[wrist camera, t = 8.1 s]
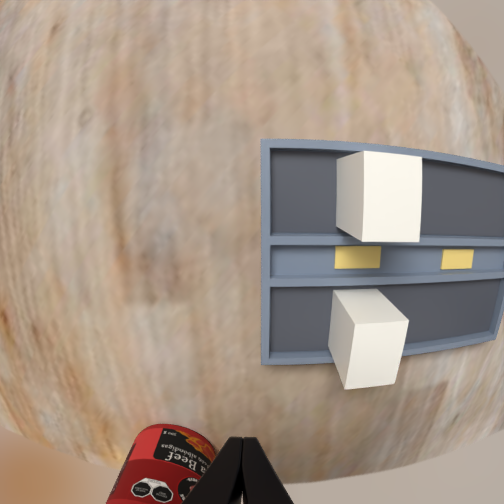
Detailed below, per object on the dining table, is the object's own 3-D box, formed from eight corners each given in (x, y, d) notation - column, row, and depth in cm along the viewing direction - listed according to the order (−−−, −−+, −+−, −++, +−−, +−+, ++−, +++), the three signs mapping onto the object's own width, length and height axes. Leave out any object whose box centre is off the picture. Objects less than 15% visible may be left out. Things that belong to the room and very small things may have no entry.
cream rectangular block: (382, 162, 17) (421, 156, 12) (381, 227, 18) (419, 242, 13) (336, 159, 17) (363, 150, 12) (335, 226, 18) (361, 241, 13)
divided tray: (504, 169, 17) (519, 169, 16) (483, 329, 20) (495, 339, 19) (260, 143, 18) (260, 138, 16) (261, 349, 21) (261, 364, 19)
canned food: (233, 458, 24) (222, 553, 13) (173, 475, 25) (151, 554, 14) (180, 410, 23) (145, 514, 12) (122, 432, 24) (81, 514, 13)
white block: (376, 288, 19) (409, 320, 14) (369, 342, 19) (394, 383, 15) (333, 289, 19) (355, 324, 14) (328, 345, 19) (344, 389, 15)
